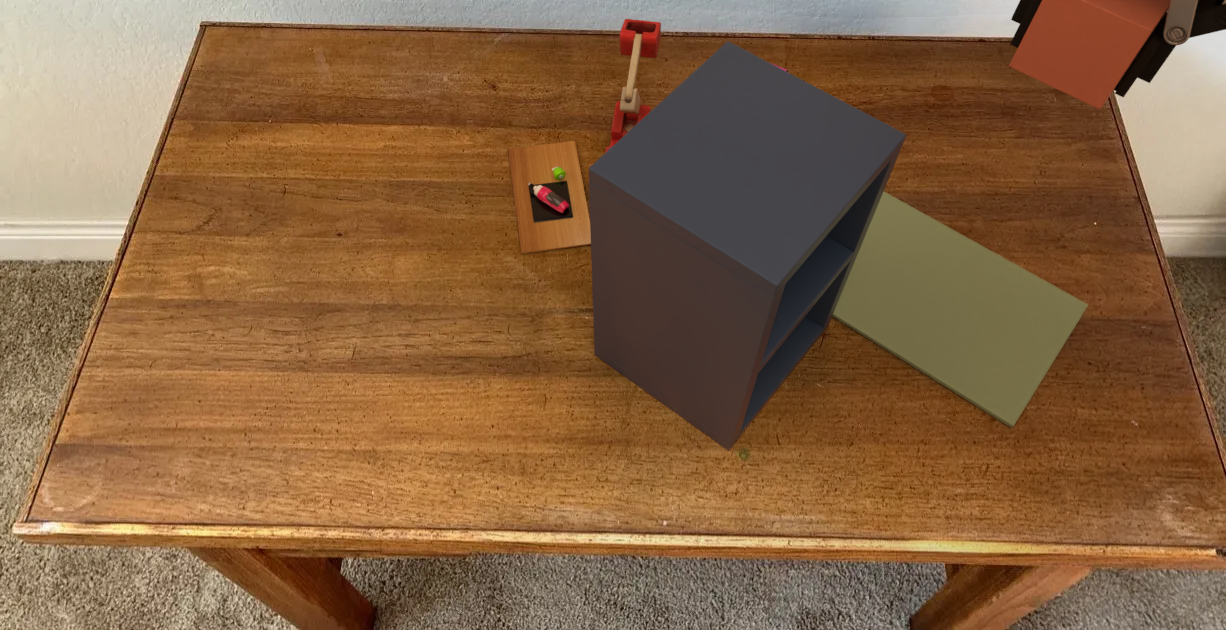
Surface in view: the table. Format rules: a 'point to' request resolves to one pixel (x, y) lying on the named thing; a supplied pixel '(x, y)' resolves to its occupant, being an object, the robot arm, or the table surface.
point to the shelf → (730, 235)
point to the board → (549, 197)
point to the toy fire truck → (634, 74)
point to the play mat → (955, 309)
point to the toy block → (1086, 44)
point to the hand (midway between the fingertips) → (1076, 55)
